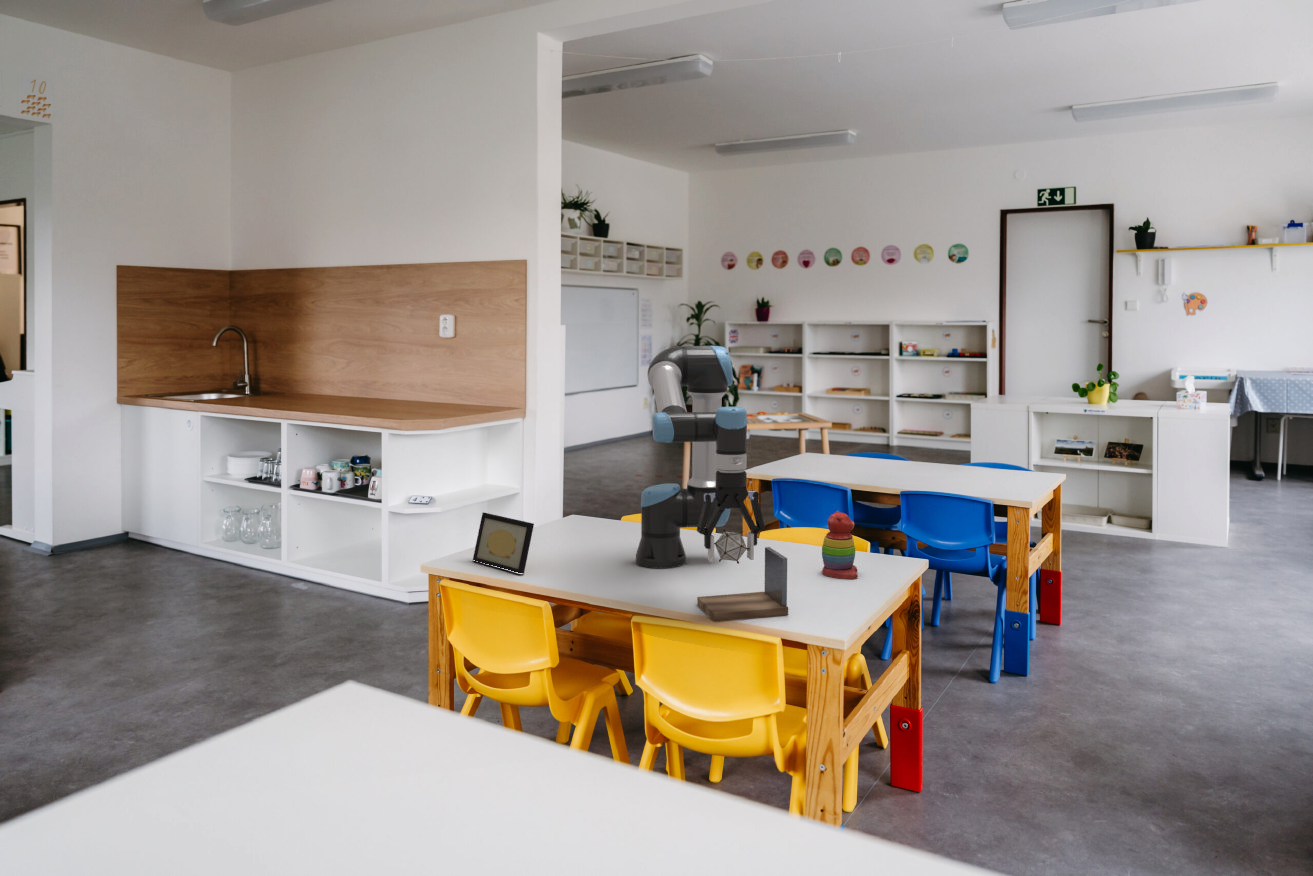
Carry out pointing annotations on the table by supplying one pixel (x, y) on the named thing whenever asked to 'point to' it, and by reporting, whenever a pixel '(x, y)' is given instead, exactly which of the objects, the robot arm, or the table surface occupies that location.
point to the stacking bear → (839, 548)
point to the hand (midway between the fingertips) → (730, 559)
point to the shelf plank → (740, 606)
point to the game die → (731, 546)
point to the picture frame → (503, 542)
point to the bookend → (776, 576)
